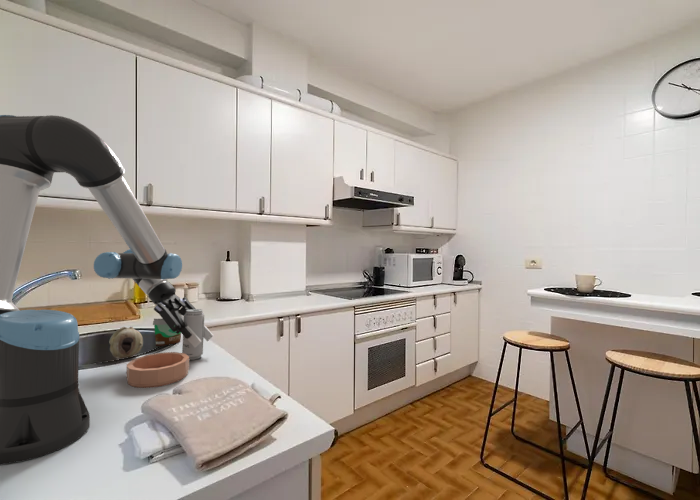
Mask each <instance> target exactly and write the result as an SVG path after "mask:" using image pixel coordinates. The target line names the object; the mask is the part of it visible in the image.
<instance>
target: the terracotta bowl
mask: <svg viewBox="0 0 700 500" xmlns="http://www.w3.org/2000/svg"><path fill="white" fill-rule="evenodd" d="M189 370H190V360H189V356H188V355H186V354H185V353H182V352H177V351H168V352H167V351H166V352H157V353H151V354H146V355H142V356H140V357H136V358H133V359H131V361H129V362H128V363H127V364H126V379H127V380H126V381H127V384H128V386H129V387H132V388H137V389H150V388H160V387H164V386H168V385H172V384H175V383H177V382H180V381H182V380H184V379H185V378H186V377H187V376H188V375H189Z"/></svg>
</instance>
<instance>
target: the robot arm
mask: <svg viewBox="0 0 700 500" xmlns="http://www.w3.org/2000/svg"><path fill="white" fill-rule="evenodd" d="M125 172H126V169H125V167H124V166H123V164H122V163H121V161H120V159H119V157H118V156H117V155H116V153H115V152H114V151H113V150H112V149H111V147H109V145H108V144H107V143H106V142H105V141H104V139H102V138H101V137H100V136H99V135H98V134H97V133H95V132H94V131H93V130H91V129H90V128H88V127H87V126H86V125H84V124H82V123H80V122H79V121H76V120H74V119H72V118H69V117H64V116H61V115H49V114H48V115H26V116H25V115H23V116H22V115H21V116H19V115H18V116H17V115H12V114H11V115H10V114H0V465H5V464H13V463H19V462H24V461H25V462H26V461H28V460H32V459H36V458H40V457H43V456H46V455H49V454H51V453H53V452H56V451H58V450H61V449H63V448H65V447H67V446H69V445H71V444H73V443H74V442H76V441H78V440H79V439H81V437H83V436H84V435H86V433H87V432H88V430H89V429H90V425H91V423H90V422H91V421H90V411H89V410H88V408H87V406H86V404H85V401H84V399H83V397H82V394H81V392H80V389H79V364H80V363H79V362H80V361H79V360H80V359H79V358H80V356H79V355H80V353H79V351H80V332H79V328H78V327H79V326H78V320H77V318H76V317H75V316H74V315H73V314H72V313H69V312H66V311H61V310H56V309H55V310H53V309H23V310H22V309H21V310H20V309H19V307H18V306H16V305H15V304H14V302H13V296H14V293H15V290H16V289H15V288H16V285H17V280H18V278H19V272H20V269H21V265H22V261H23V258H24V254H25V249H26V245H27V242H28V238H29V234H30V229H31V226H32V222H33V218H34V215H35V210H36V207H37V202H38V199H39V194H40V192H42V191H44V190H47V189H49V188H50V187H51V186H52V182H53V177H54V173H65V174H68V175H70V176H71V177H72V178H74V179H75V181H76V182H77V184H78V185H80V187H82V188H85V189H88V190H89V192H90V193H91V195H92V196H93V197H94V199H95V200H96V202H97V203H98V205H99V206H100V208H101V209H102V211H103V212H104V214H105V215H106V216H107V218H108V219H109V221H110V222H111V223H112V225H113V227H114V228H115V229H116V231H117V232H118V234H119V235H120V237H121V238H122V239H123V241H124V242H125V244H126V246H128V248H129V249H127V250H125V251H123V252H116V251H106V252H104V251H103V252H102V253H100V254H98V255H97V256H96V257H95V258H94V261H93V271H94V272H95V274H96V275H97V276H98V277H100V278H103V279H109V280H111V279H113V280H114V279H132V281H133V282H134V283H135V284H136V285H137V286H138V287H139V288H140V289H141V290H142V291H143V293H144V294H145V295H147V298H148V299H149V300H150V301H151V302H152V303H153V304H154V305H155V306H154V308H153V311H155V312H156V313H158V314H159V316H160V317H161V319H162V318H163V320H164V321H165V322H166V323H167V325H168V326H169V327H170V329H171V330H172V331H173V332H175V331H176V333H177V334H179V333H180V332H181V335H182V336H183V335H184V336H185V338H187V339H188V341H189V342H190V343H191V344H192V345H193V346H194V347H197V346H198V345H199V344H200V343H201V342H202V341H201V340H200V338H199V337H198V336H197V335H196V334H195V333H194V332H193V330H192V329H191V328H190V327H189V326H186V325H185V324H184V320H182V318H181V316H180V314H182V315H183V316H184V315H185V313H186V310H190V309H197V308H195V306H194V305H193V304H192V303H191V302H190V301H189V299H188V298H187V297H186V296H183V298H180V297H179V296H178V295H177V294H176V288H175V287H174V286H173V285H172V283H171V282H169V280H171V279H177V278H178V277H179V276H180V274H181V272H182V269H183V260H182V258H181V256H180V255H178V254H177V253H172V252H169V253H168V252H167V250H166V249H165V247H164V245H163V243H162V242H161V240H160V238H159V236H158V235H157V232H156V231H155V229H154V227H153V226H152V225H151V222H150V221H149V218H148V217H147V216H146V214H145V211H144V210H143V208H142V206H141V205H140V203H139V202H138V199H137V198H136V197H135V194H134V192H133V191H132V190H131V188H130V186H129V184H128V182H127V181H126V179H125V177H124V175H125ZM179 313H180V314H179ZM174 325H175V327H174ZM185 327H186V328H185ZM214 336H215V335H214V333H212V331H211V330H210V329H209V328H208V326H206V324H204V338H203V339H205V340H204V341H206V342H209V341H210V340H211V339H212V338H213V337H214Z"/></svg>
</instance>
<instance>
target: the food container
mask: <svg viewBox="0 0 700 500" xmlns="http://www.w3.org/2000/svg"><path fill="white" fill-rule="evenodd" d="M179 314H180V313H179ZM180 316H181V318H182V320H183V321H184V316H183V315H182V314H180ZM152 325H153V326H154V338H155V346H156V347H166V346H165V345H169V344H174V345H176V344H175V343H177V344H179V343H181V338H182V337H181V336H182V333H181V332H180V333H179V334H177V333H176V331H175V332H173V331H172V330H171V329H170V327H169V326H168V325H167V323H166V322H165V321H164V320H163V318H162V317H161V318H153V321H152ZM174 327H175V325H174ZM169 346H170V345H169Z"/></svg>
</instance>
